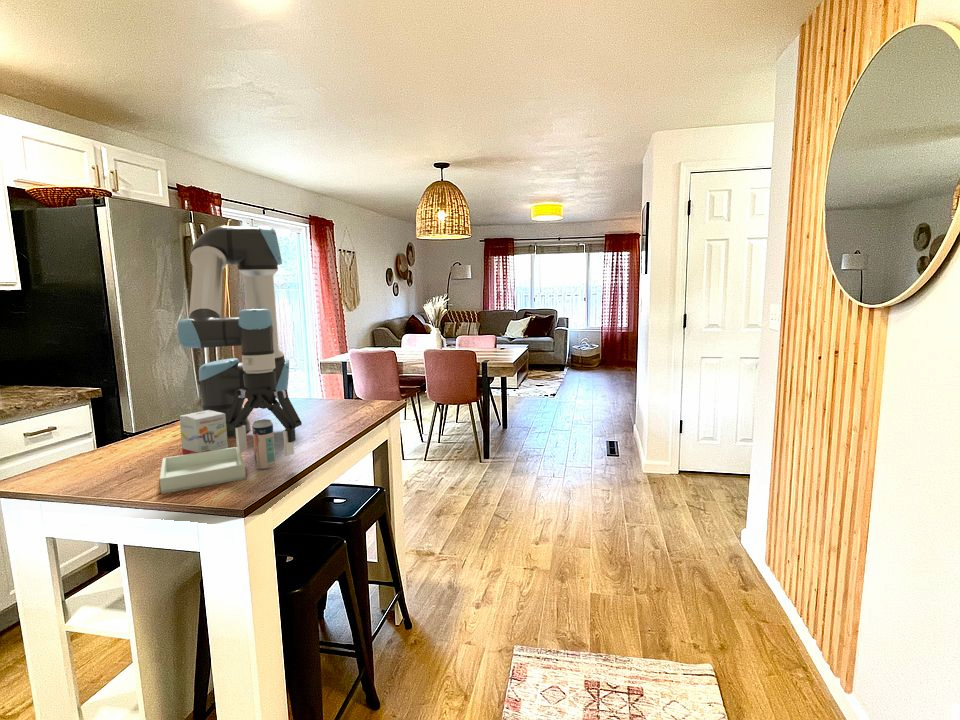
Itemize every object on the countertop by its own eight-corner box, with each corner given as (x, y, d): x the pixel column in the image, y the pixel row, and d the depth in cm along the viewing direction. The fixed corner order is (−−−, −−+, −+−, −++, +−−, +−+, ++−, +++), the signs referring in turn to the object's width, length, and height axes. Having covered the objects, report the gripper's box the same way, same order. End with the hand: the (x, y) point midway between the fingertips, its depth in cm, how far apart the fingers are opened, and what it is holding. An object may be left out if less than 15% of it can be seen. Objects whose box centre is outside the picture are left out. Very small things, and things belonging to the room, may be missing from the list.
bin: (164, 471, 132) (162, 457, 132) (239, 459, 141) (238, 446, 140) (161, 493, 117) (159, 478, 117) (245, 478, 125) (244, 464, 125)
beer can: (259, 464, 136) (255, 419, 134) (278, 463, 136) (274, 418, 135) (253, 470, 131) (249, 424, 130) (272, 469, 132) (269, 423, 130)
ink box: (199, 462, 139) (195, 418, 137) (182, 457, 144) (177, 415, 142) (229, 453, 146) (226, 411, 145) (212, 448, 151) (208, 408, 149)
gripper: (206, 372, 130) (213, 454, 133) (293, 373, 123) (299, 460, 126) (228, 368, 138) (234, 446, 140) (312, 369, 131) (317, 451, 133)
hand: (265, 454), depth 133 cm, fingers open, 13 cm apart
